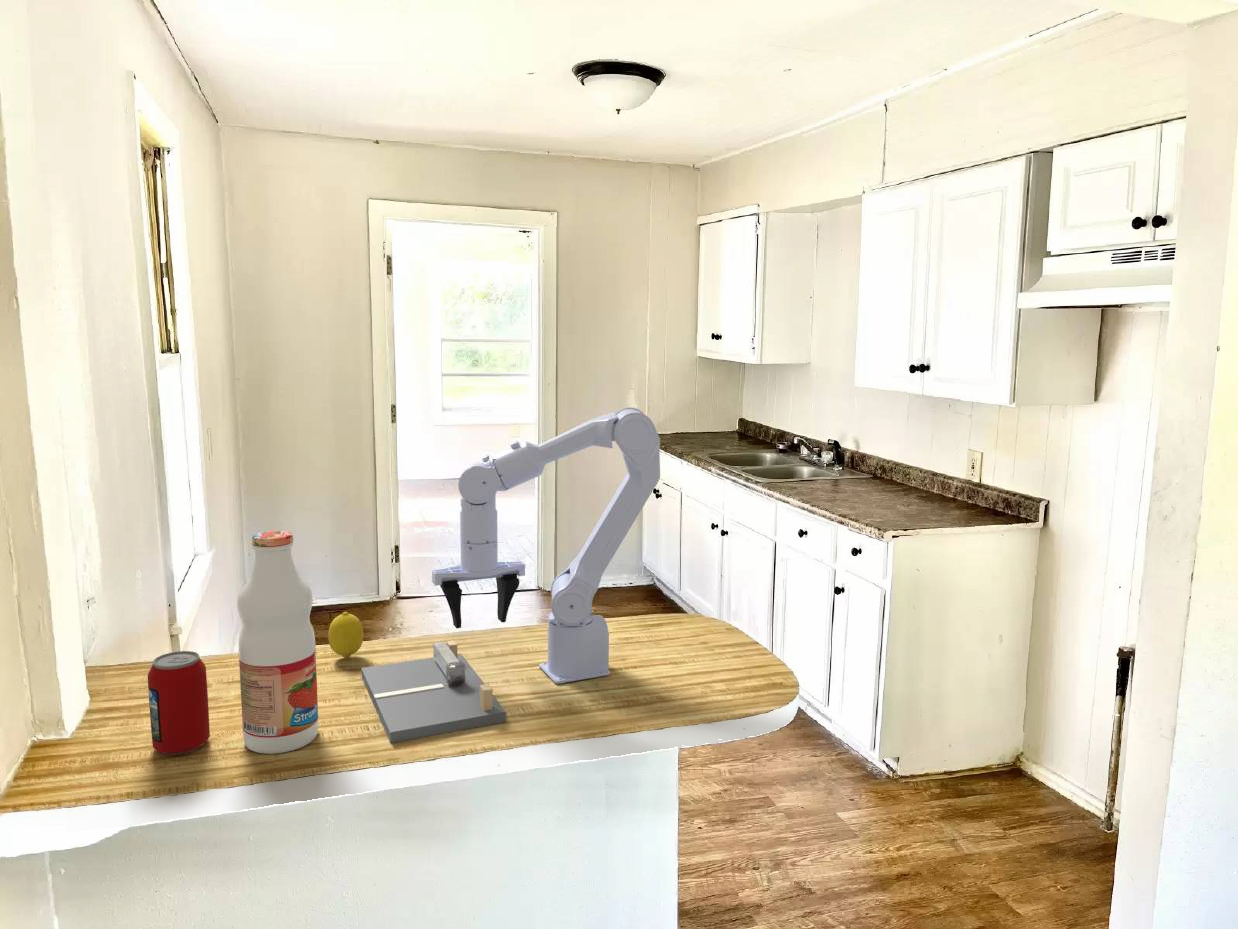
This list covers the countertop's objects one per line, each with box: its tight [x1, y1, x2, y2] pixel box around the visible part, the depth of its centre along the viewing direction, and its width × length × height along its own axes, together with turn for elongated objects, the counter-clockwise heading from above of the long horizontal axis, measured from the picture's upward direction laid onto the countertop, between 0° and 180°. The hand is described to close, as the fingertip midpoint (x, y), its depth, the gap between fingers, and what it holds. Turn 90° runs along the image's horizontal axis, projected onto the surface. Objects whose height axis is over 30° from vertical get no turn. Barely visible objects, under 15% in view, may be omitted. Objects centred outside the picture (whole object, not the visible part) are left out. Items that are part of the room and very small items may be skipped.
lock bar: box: [432, 641, 465, 685], centre depth 134 cm, size 12×3×2 cm, turn 25°
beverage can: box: [147, 650, 211, 756], centre depth 112 cm, size 7×7×12 cm
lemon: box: [327, 611, 364, 659], centre depth 143 cm, size 6×6×8 cm
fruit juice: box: [236, 530, 319, 755], centre depth 113 cm, size 9×9×28 cm
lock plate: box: [360, 640, 507, 744], centre depth 128 cm, size 16×24×4 cm, turn 25°
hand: (479, 623), depth 137 cm, fingers open, 7 cm apart
